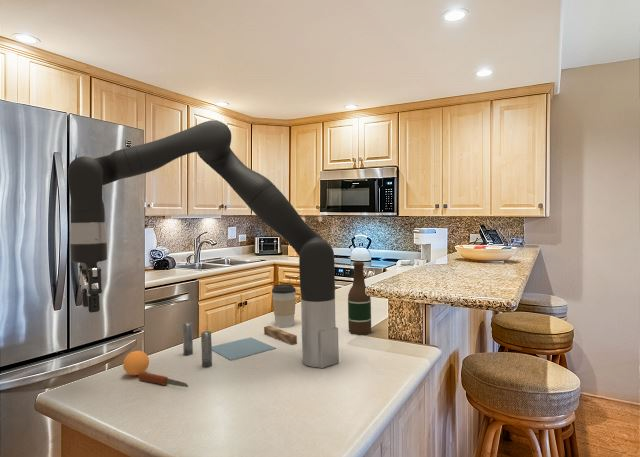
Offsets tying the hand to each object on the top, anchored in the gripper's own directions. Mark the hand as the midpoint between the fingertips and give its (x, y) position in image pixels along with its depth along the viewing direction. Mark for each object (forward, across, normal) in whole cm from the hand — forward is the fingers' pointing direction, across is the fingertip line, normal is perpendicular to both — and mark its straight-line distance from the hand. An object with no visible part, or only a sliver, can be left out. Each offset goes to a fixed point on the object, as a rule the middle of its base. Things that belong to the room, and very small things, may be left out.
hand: (90, 309), depth 95 cm
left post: (+18, +6, -26) cm, 32 cm away
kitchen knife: (+19, -12, -13) cm, 25 cm away
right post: (+18, -7, -26) cm, 32 cm away
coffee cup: (+18, +13, -64) cm, 68 cm away
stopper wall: (+18, 0, -54) cm, 57 cm away
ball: (+15, -1, -10) cm, 18 cm away
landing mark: (+18, 0, -40) cm, 44 cm away
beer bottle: (+18, -12, -78) cm, 81 cm away
